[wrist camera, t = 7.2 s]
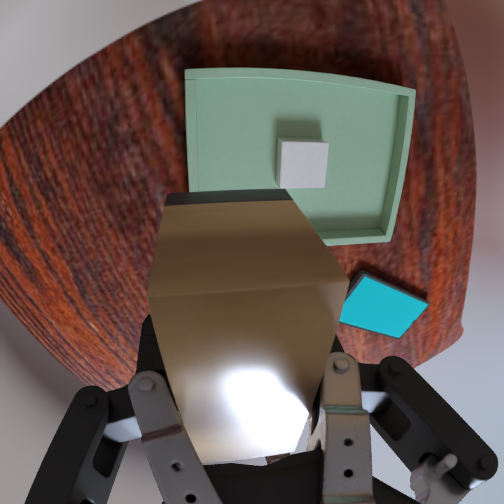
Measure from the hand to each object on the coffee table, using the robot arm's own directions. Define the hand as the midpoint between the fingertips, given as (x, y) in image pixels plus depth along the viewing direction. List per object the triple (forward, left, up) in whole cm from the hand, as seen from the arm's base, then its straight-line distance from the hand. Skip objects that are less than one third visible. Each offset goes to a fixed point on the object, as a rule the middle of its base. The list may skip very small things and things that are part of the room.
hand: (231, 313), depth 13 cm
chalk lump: (-2, +7, -15) cm, 17 cm away
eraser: (0, 0, -1) cm, 1 cm away
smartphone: (+17, +21, -16) cm, 31 cm away
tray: (-2, +8, -16) cm, 18 cm away
